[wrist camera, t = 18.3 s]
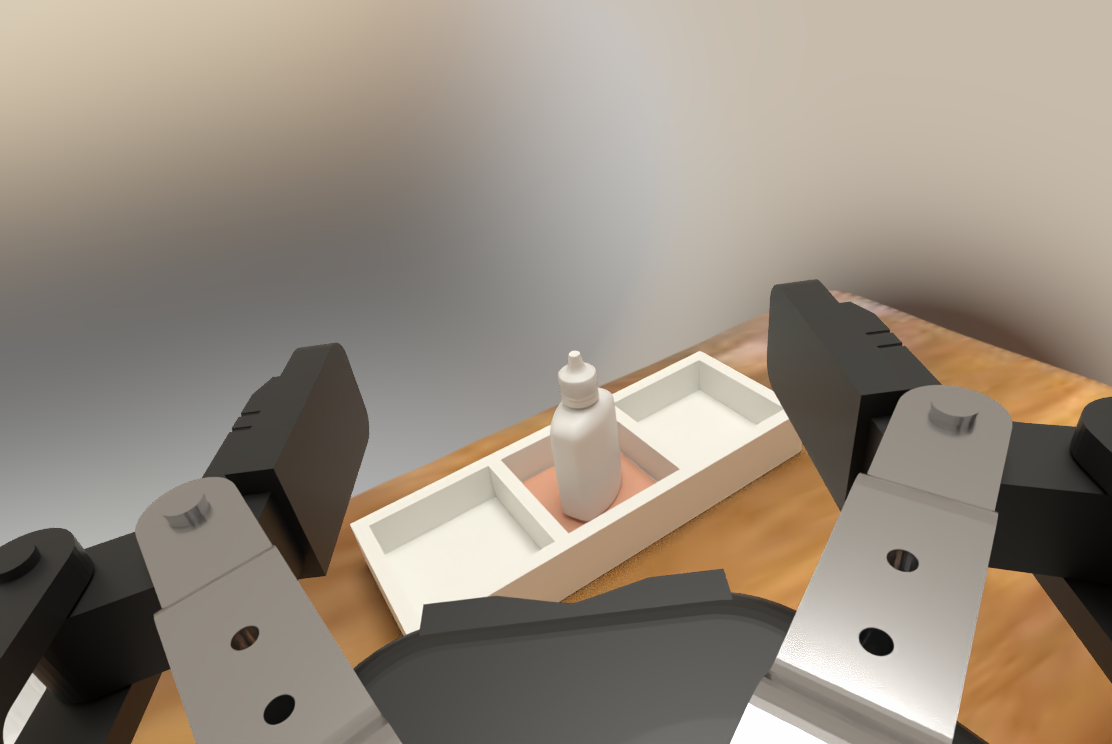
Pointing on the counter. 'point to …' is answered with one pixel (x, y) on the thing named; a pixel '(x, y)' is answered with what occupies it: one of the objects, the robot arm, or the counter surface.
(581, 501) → the eye dropper bottle
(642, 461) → the rack
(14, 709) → the white cup
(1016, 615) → the counter surface
